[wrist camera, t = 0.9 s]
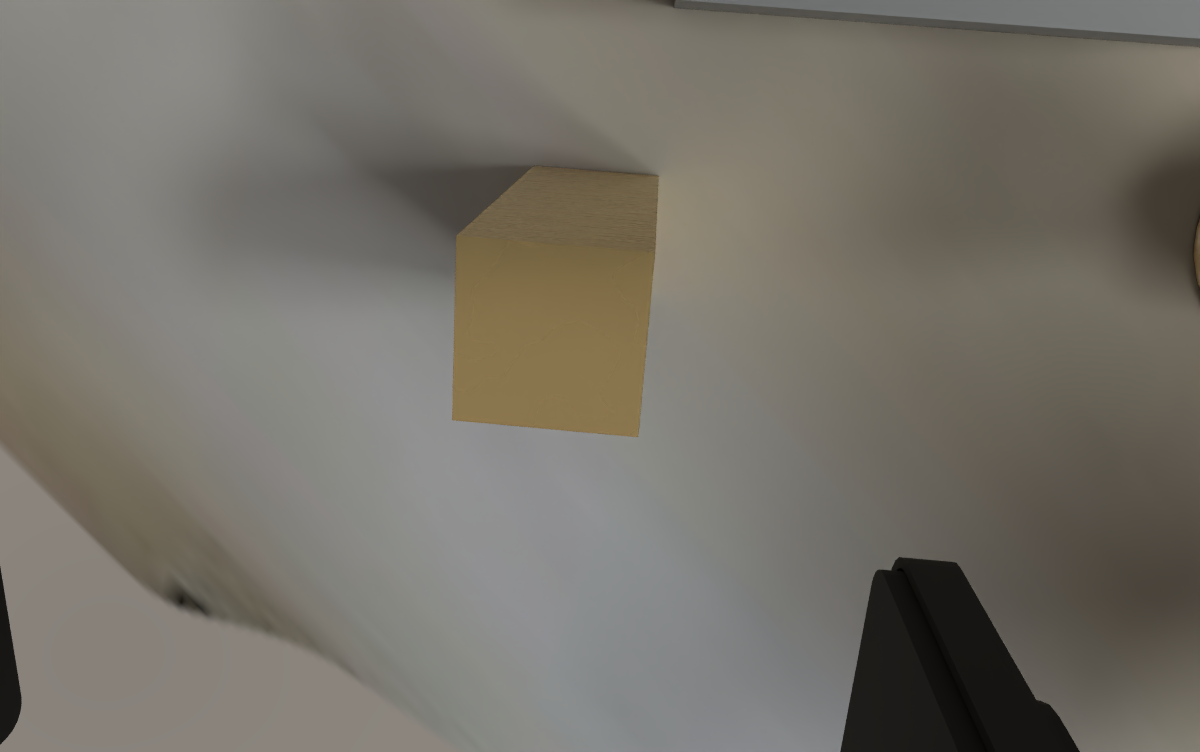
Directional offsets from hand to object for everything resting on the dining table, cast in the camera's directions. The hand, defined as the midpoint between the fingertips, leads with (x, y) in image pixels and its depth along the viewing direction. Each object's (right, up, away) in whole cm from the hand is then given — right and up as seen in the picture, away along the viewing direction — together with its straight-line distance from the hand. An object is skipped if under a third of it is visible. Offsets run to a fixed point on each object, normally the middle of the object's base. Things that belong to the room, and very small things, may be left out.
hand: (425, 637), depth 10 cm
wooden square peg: (+2, +7, +21) cm, 22 cm away
